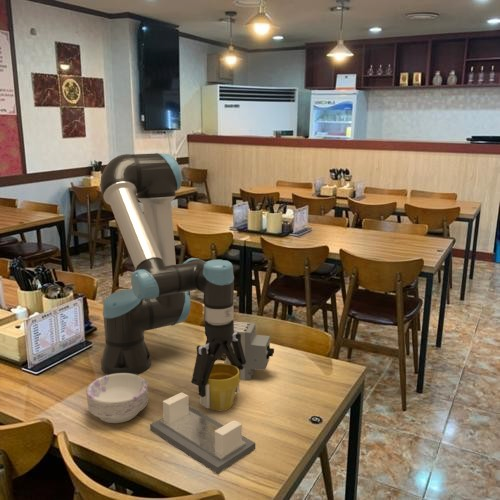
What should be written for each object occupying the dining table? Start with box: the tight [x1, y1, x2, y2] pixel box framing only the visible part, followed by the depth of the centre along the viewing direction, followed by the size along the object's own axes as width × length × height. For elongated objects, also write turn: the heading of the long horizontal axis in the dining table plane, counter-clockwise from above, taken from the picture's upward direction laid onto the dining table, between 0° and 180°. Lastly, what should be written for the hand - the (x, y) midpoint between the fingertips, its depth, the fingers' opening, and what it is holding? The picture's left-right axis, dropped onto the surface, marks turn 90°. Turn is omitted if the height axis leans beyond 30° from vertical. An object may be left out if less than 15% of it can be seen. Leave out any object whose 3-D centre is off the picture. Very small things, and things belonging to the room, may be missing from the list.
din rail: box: [158, 411, 246, 461], centre depth 122 cm, size 22×8×1 cm, turn 47°
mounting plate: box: [149, 406, 256, 474], centre depth 122 cm, size 24×12×2 cm, turn 47°
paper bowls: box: [86, 373, 149, 424], centre depth 132 cm, size 15×15×8 cm
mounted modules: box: [162, 392, 243, 455], centre depth 121 cm, size 21×6×5 cm, turn 47°
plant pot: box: [202, 362, 241, 412], centre depth 136 cm, size 10×10×10 cm
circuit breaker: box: [223, 321, 275, 381], centre depth 152 cm, size 8×14×15 cm, turn 78°
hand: (220, 398), depth 137 cm, fingers closed on plant pot, 10 cm apart
